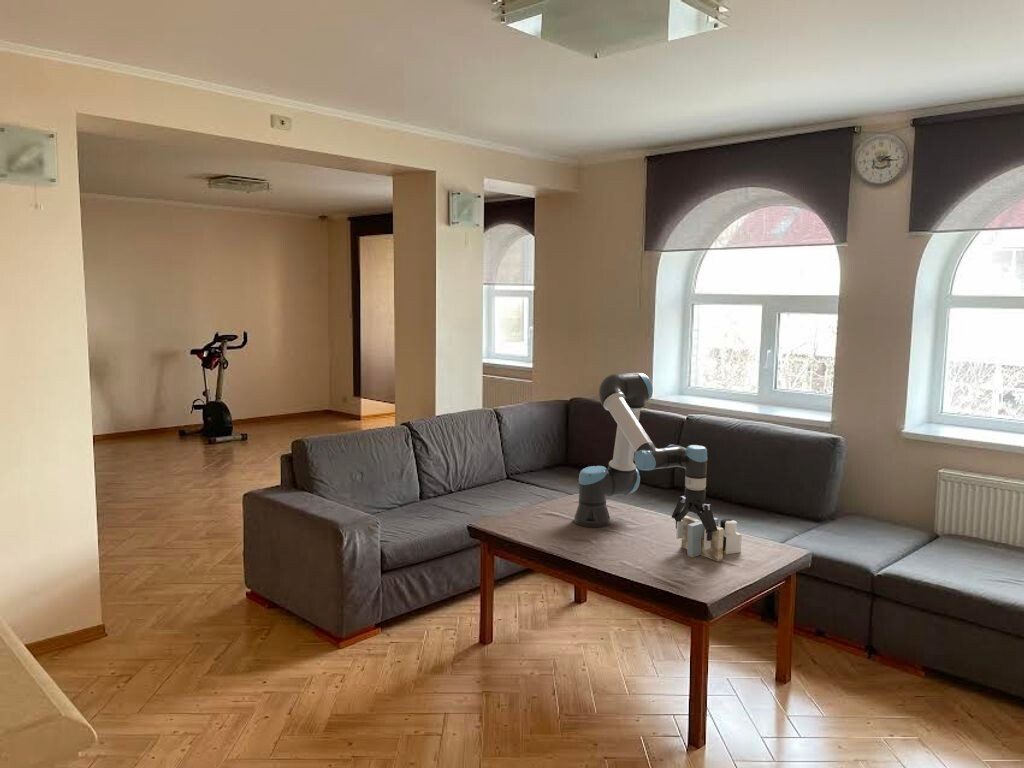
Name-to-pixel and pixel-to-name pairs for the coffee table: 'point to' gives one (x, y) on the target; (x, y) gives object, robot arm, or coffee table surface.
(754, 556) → the coffee table surface
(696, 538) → the cross plate
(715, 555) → the standing plate
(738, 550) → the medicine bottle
